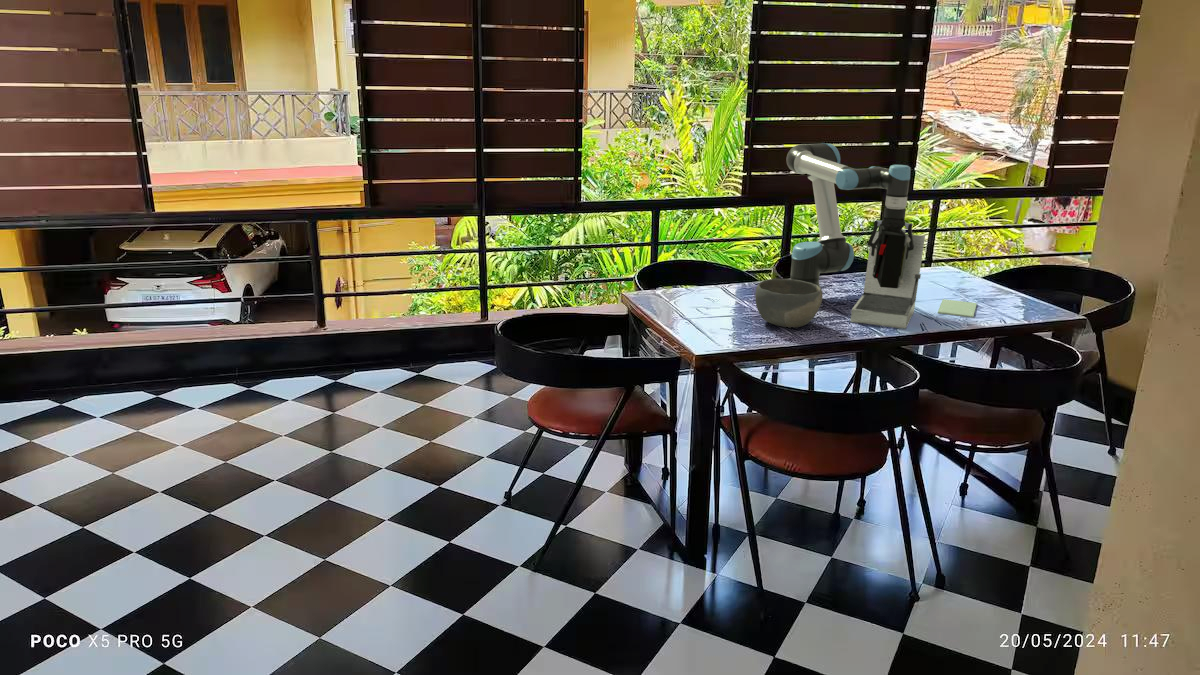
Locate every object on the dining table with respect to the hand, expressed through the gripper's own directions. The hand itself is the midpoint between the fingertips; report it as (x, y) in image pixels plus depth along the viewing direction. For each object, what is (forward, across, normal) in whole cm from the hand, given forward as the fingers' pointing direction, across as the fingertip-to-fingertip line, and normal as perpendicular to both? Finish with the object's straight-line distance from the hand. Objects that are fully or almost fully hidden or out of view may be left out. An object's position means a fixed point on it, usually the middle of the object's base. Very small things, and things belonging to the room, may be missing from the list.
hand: (888, 265), depth 321 cm
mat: (+20, +25, +26) cm, 41 cm away
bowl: (+21, -31, -27) cm, 46 cm away
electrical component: (+6, 0, 0) cm, 6 cm away
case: (+20, +1, +3) cm, 20 cm away
